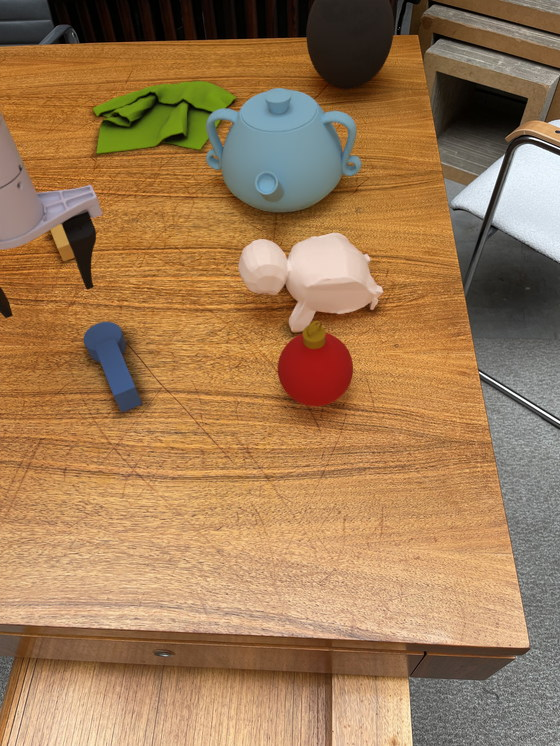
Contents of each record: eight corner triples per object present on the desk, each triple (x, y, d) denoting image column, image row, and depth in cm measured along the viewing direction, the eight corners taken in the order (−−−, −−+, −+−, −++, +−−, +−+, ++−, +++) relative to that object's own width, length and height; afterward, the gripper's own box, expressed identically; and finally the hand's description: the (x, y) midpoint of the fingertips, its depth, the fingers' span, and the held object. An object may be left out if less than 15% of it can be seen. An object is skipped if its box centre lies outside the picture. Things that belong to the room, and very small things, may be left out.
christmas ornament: (323, 351, 66) (322, 281, 58) (366, 396, 62) (372, 328, 54) (266, 385, 63) (257, 317, 55) (308, 433, 60) (304, 368, 52)
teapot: (364, 153, 86) (369, 60, 76) (352, 255, 74) (356, 160, 64) (222, 149, 89) (208, 58, 78) (188, 246, 77) (167, 154, 67)
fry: (81, 255, 77) (75, 242, 75) (63, 262, 76) (57, 248, 75) (65, 218, 81) (59, 204, 80) (48, 224, 81) (42, 210, 79)
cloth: (253, 94, 97) (251, 79, 95) (175, 175, 85) (172, 160, 83) (142, 70, 103) (139, 55, 101) (57, 143, 92) (51, 128, 90)
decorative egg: (307, 65, 101) (305, -41, 89) (386, 61, 100) (394, -46, 88) (307, 108, 93) (304, -2, 82) (392, 104, 93) (401, -7, 81)
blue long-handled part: (151, 401, 63) (144, 383, 61) (112, 416, 62) (104, 399, 60) (120, 328, 69) (112, 309, 67) (84, 342, 68) (76, 323, 66)
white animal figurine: (345, 285, 75) (223, 271, 70) (375, 228, 69) (243, 209, 64) (364, 339, 70) (234, 329, 65) (398, 282, 64) (257, 266, 59)
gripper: (66, 119, 53) (110, 245, 63) (-116, 173, 50) (-36, 295, 60) (87, 164, 49) (131, 290, 59) (-110, 225, 46) (-26, 345, 56)
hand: (48, 295), depth 60 cm, fingers open, 7 cm apart
